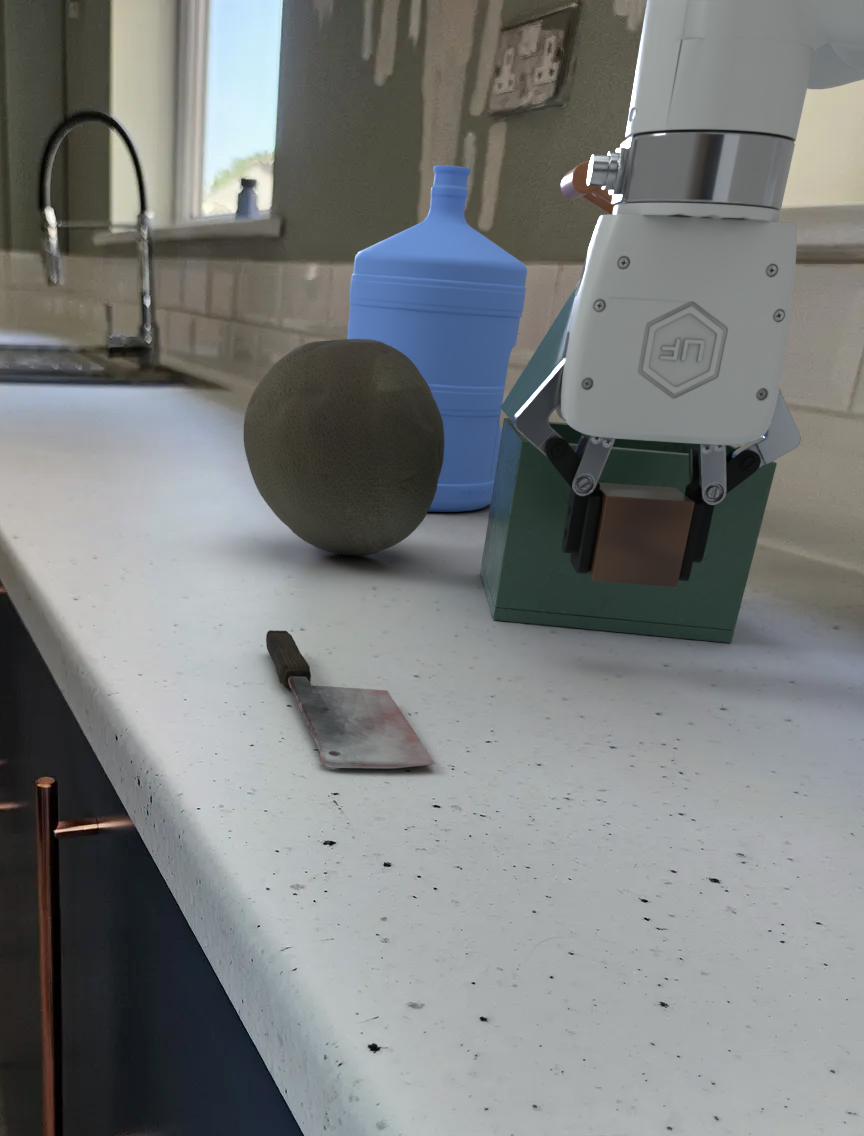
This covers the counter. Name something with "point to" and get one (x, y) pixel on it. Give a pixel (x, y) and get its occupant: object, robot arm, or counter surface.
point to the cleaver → (347, 716)
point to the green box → (569, 599)
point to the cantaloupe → (345, 444)
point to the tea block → (641, 535)
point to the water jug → (447, 328)
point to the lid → (555, 338)
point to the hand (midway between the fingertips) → (628, 567)
